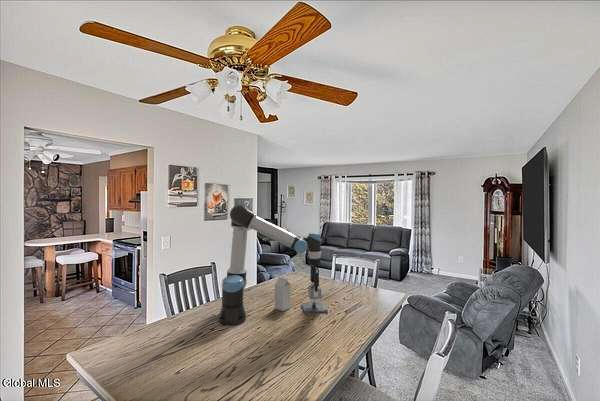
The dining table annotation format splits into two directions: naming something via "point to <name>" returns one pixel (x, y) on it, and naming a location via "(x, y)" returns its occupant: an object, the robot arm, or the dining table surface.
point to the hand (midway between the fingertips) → (314, 294)
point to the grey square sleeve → (311, 292)
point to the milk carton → (282, 294)
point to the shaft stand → (314, 307)
